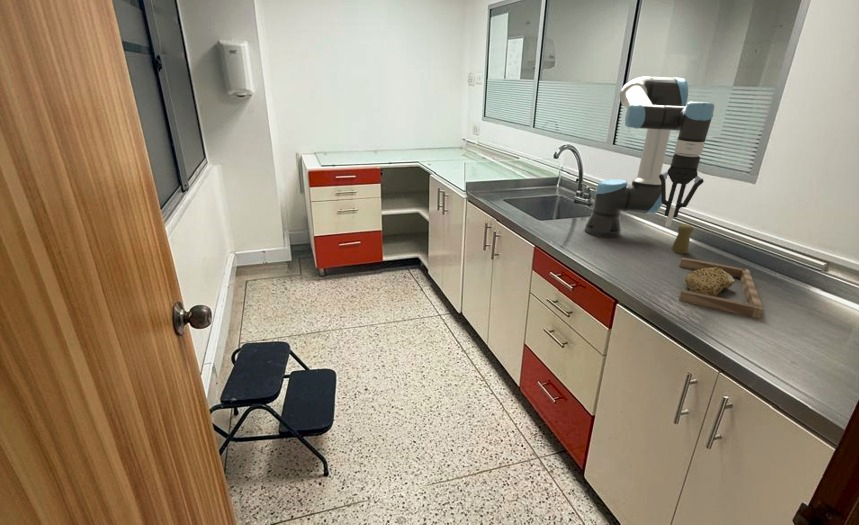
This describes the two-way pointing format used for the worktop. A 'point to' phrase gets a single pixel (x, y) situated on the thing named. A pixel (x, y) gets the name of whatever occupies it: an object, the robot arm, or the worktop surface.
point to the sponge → (709, 281)
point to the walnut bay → (749, 309)
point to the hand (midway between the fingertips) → (668, 225)
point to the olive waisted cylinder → (682, 239)
